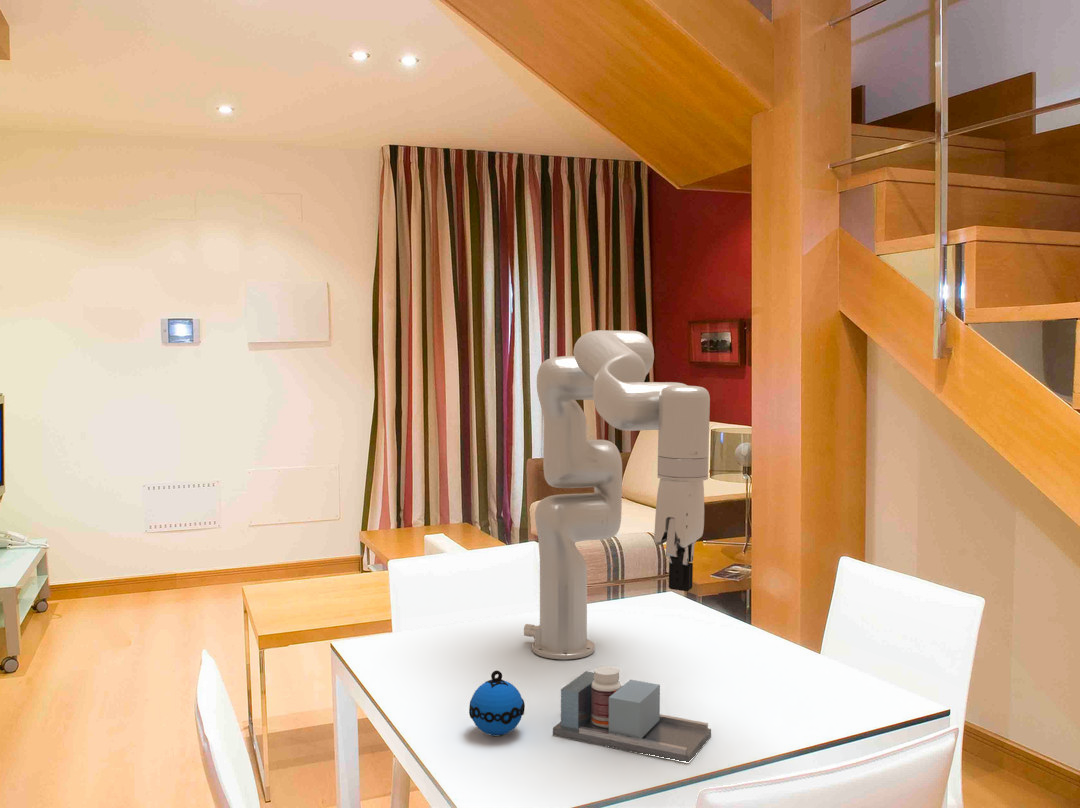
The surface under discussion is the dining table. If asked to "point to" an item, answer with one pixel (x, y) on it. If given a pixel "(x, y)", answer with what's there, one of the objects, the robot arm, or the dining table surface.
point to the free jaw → (634, 708)
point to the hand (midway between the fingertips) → (680, 588)
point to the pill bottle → (603, 694)
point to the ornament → (496, 706)
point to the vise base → (661, 740)
